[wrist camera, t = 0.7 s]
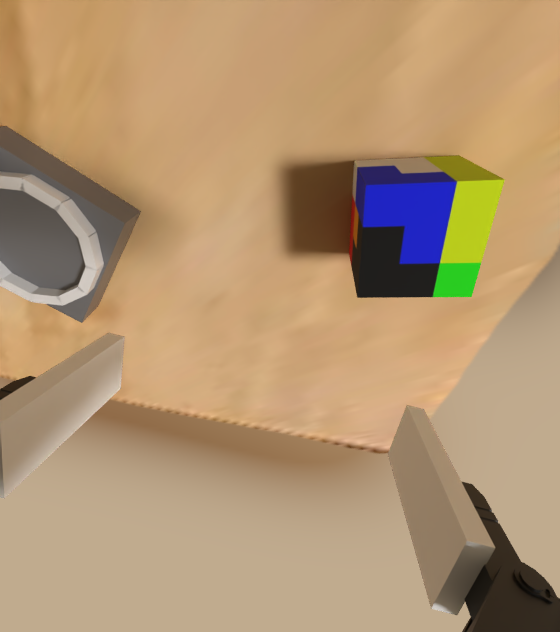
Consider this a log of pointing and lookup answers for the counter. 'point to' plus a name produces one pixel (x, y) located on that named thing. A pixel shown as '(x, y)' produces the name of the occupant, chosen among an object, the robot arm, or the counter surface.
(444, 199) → the puzzle toy
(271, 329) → the counter surface
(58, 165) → the grey square ring block
